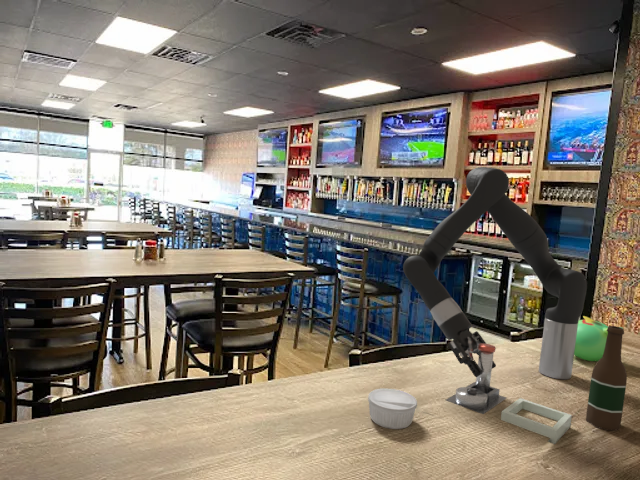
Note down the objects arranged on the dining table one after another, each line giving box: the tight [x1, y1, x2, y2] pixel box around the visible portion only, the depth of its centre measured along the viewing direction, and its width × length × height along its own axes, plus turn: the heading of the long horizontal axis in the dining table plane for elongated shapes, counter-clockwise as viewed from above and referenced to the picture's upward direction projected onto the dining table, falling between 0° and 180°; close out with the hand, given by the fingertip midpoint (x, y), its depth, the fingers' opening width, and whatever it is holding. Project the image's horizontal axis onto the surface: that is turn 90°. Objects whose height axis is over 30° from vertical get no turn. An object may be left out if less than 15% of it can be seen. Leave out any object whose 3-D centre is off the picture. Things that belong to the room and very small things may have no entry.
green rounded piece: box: [574, 315, 624, 362], centre depth 168 cm, size 18×17×15 cm
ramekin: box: [367, 387, 418, 430], centre depth 110 cm, size 11×11×5 cm
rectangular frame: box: [500, 397, 573, 445], centre depth 113 cm, size 12×12×3 cm
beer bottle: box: [585, 325, 628, 431], centre depth 116 cm, size 8×8×24 cm
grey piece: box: [445, 381, 507, 415], centre depth 124 cm, size 15×10×4 cm, turn 138°
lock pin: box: [475, 343, 497, 393], centre depth 126 cm, size 4×4×13 cm
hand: (486, 371), depth 125 cm, fingers open, 8 cm apart
